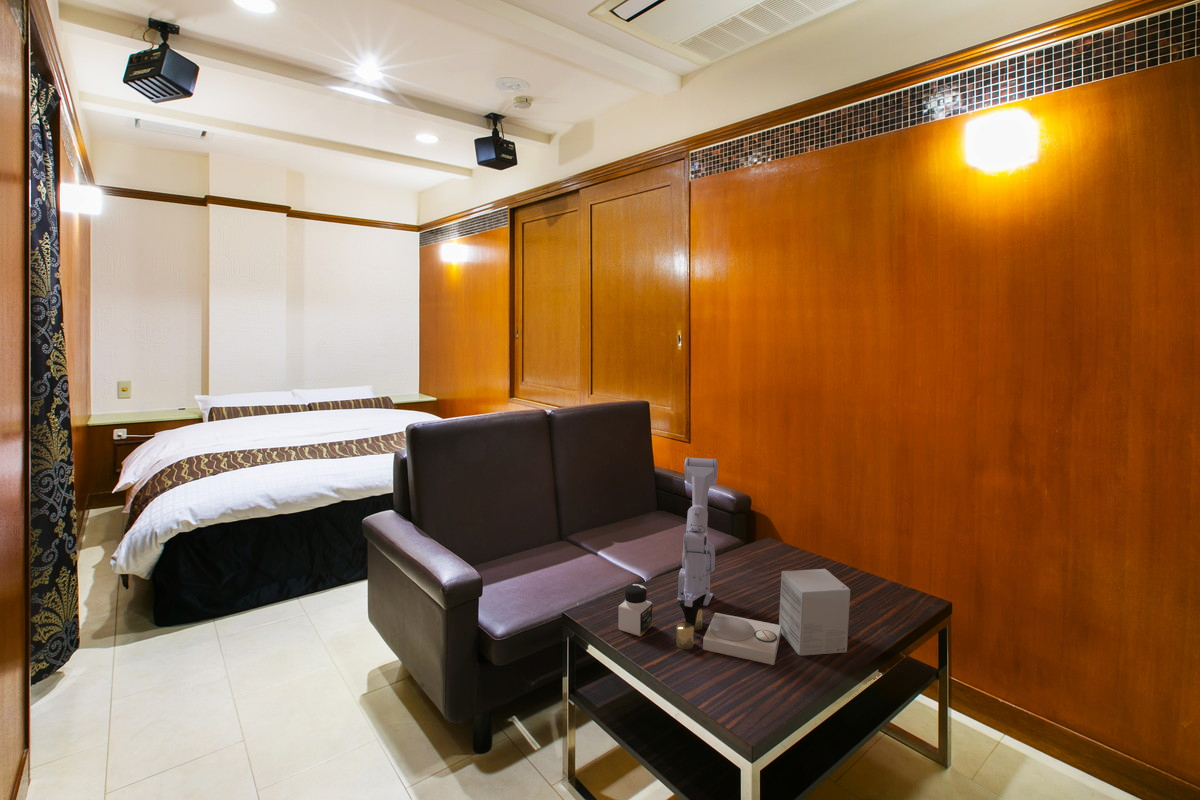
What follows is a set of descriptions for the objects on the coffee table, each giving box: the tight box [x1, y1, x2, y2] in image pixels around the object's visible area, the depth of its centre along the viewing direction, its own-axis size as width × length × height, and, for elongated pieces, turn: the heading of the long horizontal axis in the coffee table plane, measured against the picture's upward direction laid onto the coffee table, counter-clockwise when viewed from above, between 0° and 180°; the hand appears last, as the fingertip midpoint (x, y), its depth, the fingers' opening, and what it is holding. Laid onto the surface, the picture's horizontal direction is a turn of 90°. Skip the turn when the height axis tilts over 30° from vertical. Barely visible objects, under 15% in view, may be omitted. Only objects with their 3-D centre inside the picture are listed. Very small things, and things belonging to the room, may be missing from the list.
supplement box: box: [778, 568, 851, 657], centre depth 156 cm, size 13×13×18 cm
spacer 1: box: [675, 622, 695, 650], centre depth 155 cm, size 4×4×5 cm
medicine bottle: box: [618, 583, 653, 637], centre depth 163 cm, size 7×7×12 cm
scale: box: [702, 612, 782, 666], centre depth 156 cm, size 18×15×4 cm
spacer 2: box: [694, 608, 703, 632], centre depth 164 cm, size 4×4×5 cm
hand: (694, 619), depth 164 cm, fingers open, 7 cm apart
